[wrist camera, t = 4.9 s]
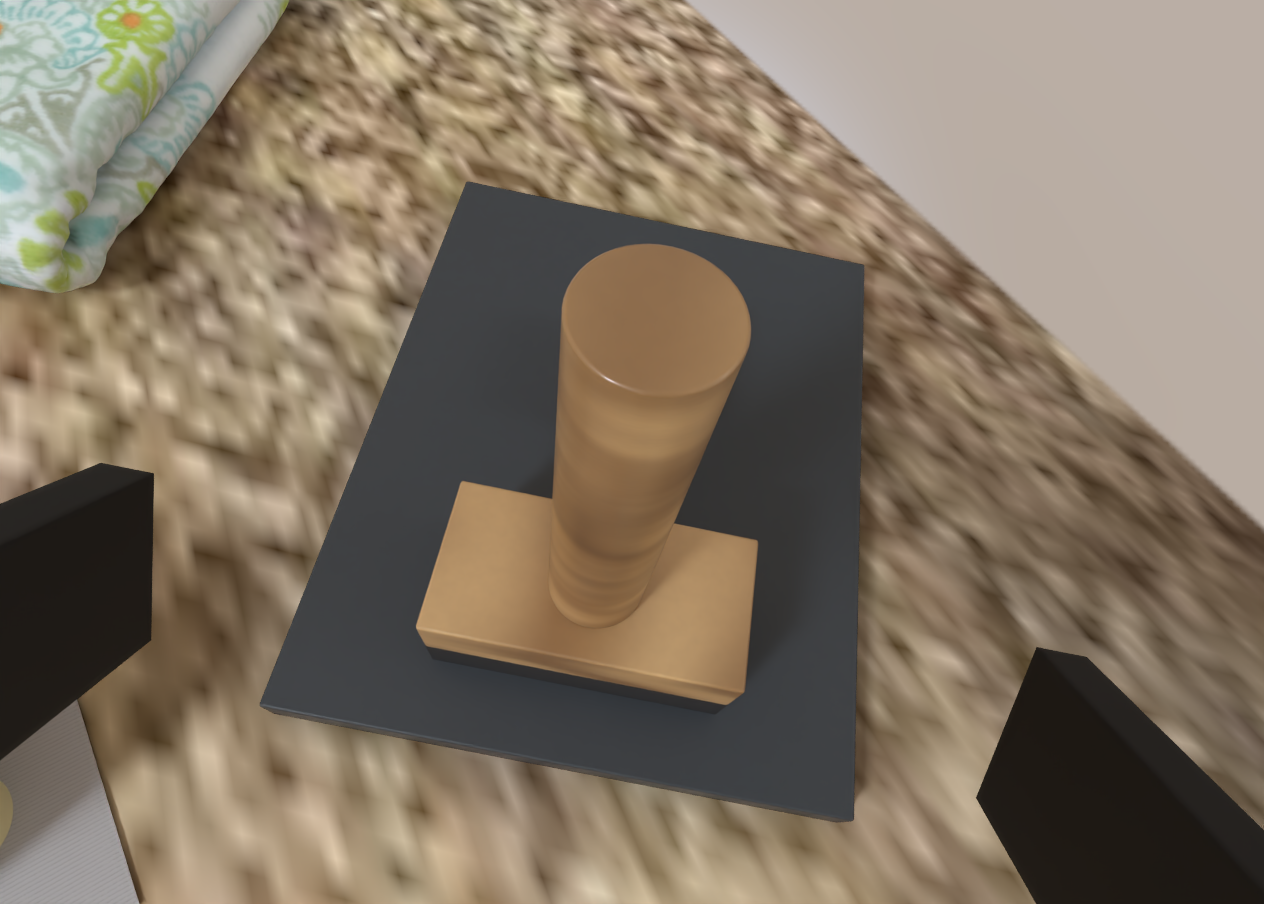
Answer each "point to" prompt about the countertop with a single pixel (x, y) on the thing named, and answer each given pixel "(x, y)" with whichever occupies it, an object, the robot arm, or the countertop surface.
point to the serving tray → (524, 462)
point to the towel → (104, 118)
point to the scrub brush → (613, 504)
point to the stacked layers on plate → (59, 822)
